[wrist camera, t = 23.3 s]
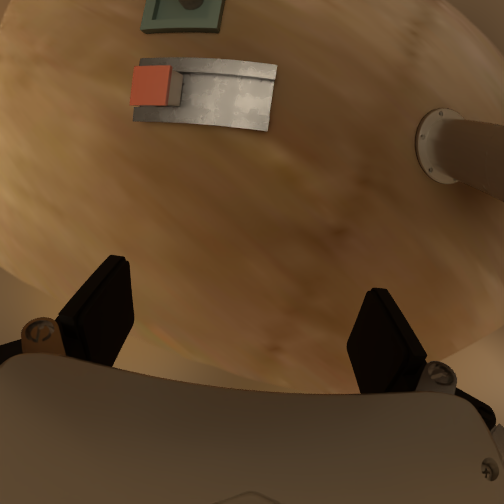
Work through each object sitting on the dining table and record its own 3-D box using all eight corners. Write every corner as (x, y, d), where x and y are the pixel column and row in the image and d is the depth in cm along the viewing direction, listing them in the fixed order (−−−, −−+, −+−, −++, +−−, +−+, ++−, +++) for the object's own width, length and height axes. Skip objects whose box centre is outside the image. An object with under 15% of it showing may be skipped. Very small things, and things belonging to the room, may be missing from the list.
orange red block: (185, 74, 34) (170, 65, 27) (180, 107, 36) (165, 105, 29) (154, 74, 33) (134, 66, 27) (150, 106, 35) (129, 105, 29)
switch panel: (275, 70, 35) (277, 65, 32) (266, 130, 39) (267, 131, 35) (150, 63, 34) (140, 58, 31) (143, 120, 38) (132, 121, 35)
